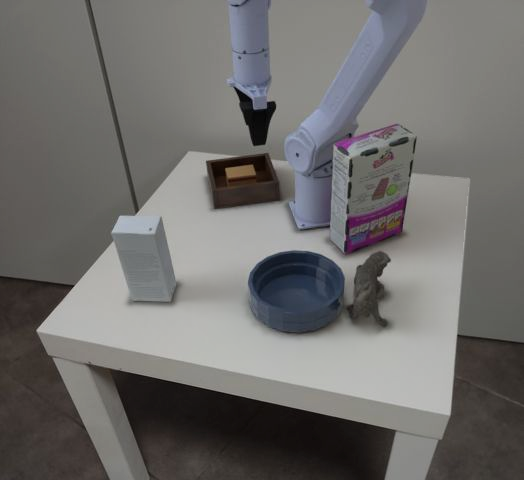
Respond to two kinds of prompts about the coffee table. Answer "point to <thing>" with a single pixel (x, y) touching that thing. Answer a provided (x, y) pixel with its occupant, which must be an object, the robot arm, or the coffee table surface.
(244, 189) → the box
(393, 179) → the candy bar box
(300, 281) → the bowl
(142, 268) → the cosmetic box
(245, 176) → the light brown rectangular block
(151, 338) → the coffee table surface
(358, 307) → the dog figurine
